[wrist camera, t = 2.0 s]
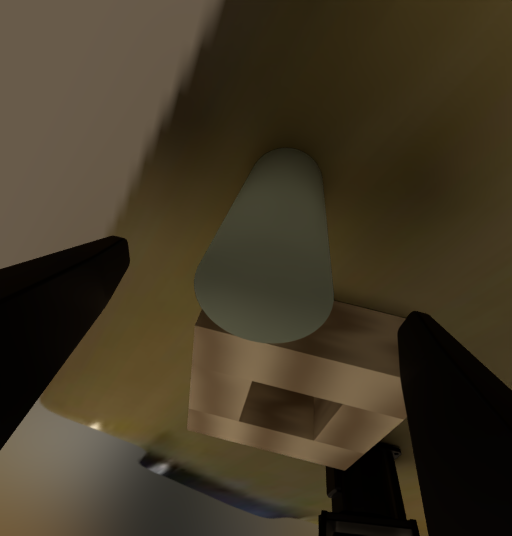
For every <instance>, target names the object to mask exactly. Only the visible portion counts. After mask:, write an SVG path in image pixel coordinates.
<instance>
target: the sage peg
mask: <svg viewBox="0 0 512 536" xmlns="http://www.w3.org/2000/svg"><path fill="white" fill-rule="evenodd" d="M194 289H195V294H196V297H197V300H198V302H199V304H200V306H201V308H202V309H203V311H204V312H205V313H206V315H207V316H208V317H209V318H210V319H211V320H212V321H213V322H214V323H215V324H217V325H218V326H219V327H221V328H222V329H224V330H225V331H227V332H229V333H231V334H233V335H235V336H238V337H240V338H243V339H246V340H249V341H254V342H260V343H285V342H291V341H295V340H298V339H301V338H304V337H306V336H308V335H310V334H311V333H313V332H314V331H316V330H317V329H318V328H320V327H321V326H322V325H323V323H324V322H325V321H326V320H327V318H328V317H329V315H330V313H331V310H332V307H333V302H334V291H333V281H332V271H331V260H330V250H329V240H328V230H327V220H326V209H325V199H324V189H323V179H322V174H321V171H320V169H319V167H318V165H317V164H316V162H315V161H314V160H313V159H312V158H311V157H310V156H309V155H307V154H306V153H304V152H302V151H300V150H297V149H293V148H279V149H275V150H272V151H270V152H268V153H266V154H265V155H263V156H262V157H261V158H260V159H259V160H258V161H257V162H256V164H255V165H254V167H253V169H252V171H251V172H250V174H249V176H248V178H247V180H246V181H245V183H244V185H243V187H242V189H241V190H240V192H239V194H238V196H237V198H236V199H235V201H234V203H233V205H232V206H231V208H230V210H229V212H228V214H227V215H226V217H225V219H224V221H223V223H222V224H221V226H220V228H219V230H218V232H217V233H216V235H215V237H214V239H213V241H212V242H211V244H210V246H209V248H208V250H207V251H206V253H205V255H204V257H203V259H202V260H201V262H200V264H199V266H198V268H197V270H196V273H195V279H194Z"/></svg>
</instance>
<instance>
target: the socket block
mask: <svg viewBox="0 0 512 536" xmlns="http://www.w3.org/2000/svg"><path fill="white" fill-rule="evenodd" d="M405 319H406V318H402V317H398V316H394V315H390V314H386V313H382V312H378V311H374V310H370V309H366V308H362V307H358V306H354V305H350V304H346V303H342V302H338V301H334V302H333V307H332V310H331V313H330V315H329V317H328V318H327V320H326V321H325V322H324V323H323V325H322V326H321V327H320V328H318V329H317V330H316V331H314V332H313V333H311V334H310V335H308V336H306V337H304V338H301V339H298V340H295V341H291V342H285V343H260V342H254V341H249V340H246V339H243V338H240V337H238V336H235V335H233V334H231V333H229V332H227V331H225V330H224V329H222V328H221V327H219V326H218V325H217V324H215V323H214V322H213V321H212V320H211V319H210V318H209V317H208V316H207V315H206V313H205V312H204V311H203V309H202V311H201V313H200V315H199V317H198V320H197V322H196V324H195V331H194V345H193V358H192V372H191V385H190V398H189V412H188V425H187V430H190V431H194V432H198V433H201V434H205V435H209V436H213V437H217V438H221V439H225V440H228V441H232V442H236V443H240V444H244V445H248V446H252V447H255V448H259V449H263V450H267V451H271V452H275V453H279V454H282V455H286V456H290V457H294V458H298V459H302V460H306V461H309V462H313V463H317V464H321V465H325V466H329V467H333V468H336V469H340V470H344V471H345V470H346V469H347V468H349V467H350V466H351V465H352V464H353V463H354V462H356V461H357V460H358V459H359V458H360V457H361V456H363V455H364V454H365V453H366V452H367V451H368V450H370V449H371V448H372V447H373V446H374V445H375V444H377V443H378V442H379V441H380V440H381V439H382V438H384V437H385V436H386V435H387V434H388V433H389V432H391V431H392V430H393V429H394V428H395V427H396V426H398V425H399V424H400V423H401V422H402V421H403V420H405V419H406V418H407V414H406V409H405V403H404V398H403V392H402V387H401V380H400V369H399V354H398V339H397V333H398V329H399V327H400V326H401V324H402V323H403V322H404V321H405Z"/></svg>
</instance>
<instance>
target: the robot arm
mask: <svg viewBox="0 0 512 536" xmlns="http://www.w3.org/2000/svg"><path fill="white" fill-rule="evenodd" d="M129 263H130V257H129V248H128V242H127V240H126V239H125V238H121V237H117V236H109V237H106V238H103V239H99V240H96V241H93V242H90V243H86V244H83V245H80V246H76V247H73V248H70V249H66V250H63V251H59V252H56V253H53V254H49V255H46V256H43V257H39V258H36V259H33V260H29V261H26V262H23V263H19V264H16V265H13V266H9V267H6V268H3V269H0V450H1V449H2V447H3V446H4V445H5V443H6V442H7V440H8V439H9V438H10V436H11V435H12V434H13V432H14V431H15V430H16V428H17V427H18V425H19V424H20V423H21V421H22V420H23V419H24V417H25V416H26V415H27V413H28V412H29V410H30V409H31V408H32V406H33V405H34V404H35V402H36V401H37V400H38V398H39V397H40V395H41V394H42V393H43V391H44V390H45V389H46V387H47V386H48V385H49V383H50V382H51V380H52V379H53V378H54V376H55V375H56V374H57V372H58V371H59V370H60V368H61V367H62V365H63V364H64V363H65V361H66V360H67V359H68V357H69V356H70V355H71V353H72V352H73V350H74V349H75V348H76V346H77V345H78V344H79V342H80V341H81V340H82V338H83V337H84V335H85V334H86V333H87V331H88V330H89V329H90V327H91V326H92V325H93V323H94V322H95V320H96V319H97V318H98V316H99V315H100V314H101V312H102V311H103V309H104V308H105V307H106V305H107V303H108V302H109V300H110V298H111V297H112V295H113V293H114V291H115V290H116V288H117V286H118V284H119V283H120V281H121V279H122V277H123V276H124V274H125V272H126V270H127V269H128V267H129ZM397 339H398V354H399V369H400V380H401V387H402V392H403V398H404V403H405V409H406V414H407V420H408V425H409V431H410V436H411V442H412V447H413V453H414V458H415V464H416V469H417V475H418V480H419V486H420V491H421V497H422V502H423V508H424V513H425V518H426V524H427V529H428V535H429V536H512V390H511V389H509V388H508V387H507V386H506V385H505V384H504V383H503V382H502V381H501V380H500V379H499V378H497V377H496V376H495V375H494V374H493V373H492V372H491V371H490V370H489V369H488V368H487V367H485V366H484V365H483V364H482V363H481V362H480V361H479V360H478V359H477V358H476V357H474V356H473V355H472V354H471V353H470V352H469V351H468V350H467V349H466V348H465V347H464V346H462V345H461V344H460V343H459V342H458V341H457V340H456V339H455V338H454V337H453V336H452V335H450V334H449V333H448V332H447V331H446V330H445V329H444V328H443V327H442V326H441V325H440V324H438V323H437V322H436V321H435V320H434V319H433V318H432V317H431V316H430V315H428V314H426V313H422V312H418V311H413V312H411V313H410V314H409V315H408V317H407V318H406V319H405V321H404V322H403V323H402V324H401V326H400V327H399V329H398V333H397ZM400 455H401V450H400V449H399V448H396V447H392V446H388V445H384V444H380V443H377V444H375V445H374V446H373V447H372V448H371V449H370V450H368V451H367V452H366V453H365V454H364V455H363V456H361V457H360V458H359V459H358V460H357V461H356V462H354V463H353V464H352V465H351V466H350V467H349V468H347V469H346V470H345V471H344V470H340V469H336V468H333V467H329V466H326V485H327V495H328V497H329V498H332V512H328V511H325V510H322V511H321V515H319V536H420V535H419V530H418V526H417V522H416V520H413V519H410V520H407V519H406V514H405V509H404V504H403V499H402V495H401V490H400V485H399V480H398V475H397V471H396V466H395V461H394V460H395V459H396V458H398V457H399V456H400Z"/></svg>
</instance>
